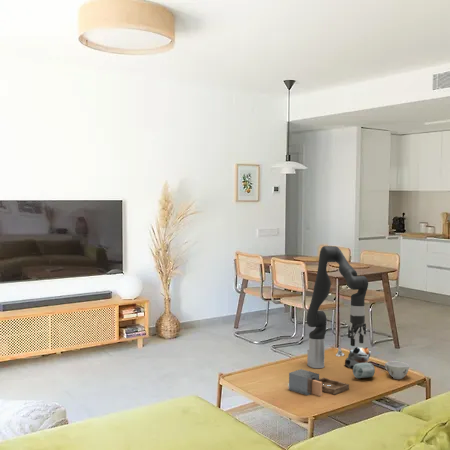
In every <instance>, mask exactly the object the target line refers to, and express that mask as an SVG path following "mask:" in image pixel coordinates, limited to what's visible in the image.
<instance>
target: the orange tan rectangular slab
mask: <svg viewBox="0 0 450 450" xmlns="http://www.w3.org/2000/svg"><path fill="white" fill-rule="evenodd" d="M311 395H315V396H318V397H322V396H323V391H322V382H320V381H317V380H313V379H312V394H311Z"/></svg>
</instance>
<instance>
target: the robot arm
mask: <svg viewBox="0 0 450 450" xmlns="http://www.w3.org/2000/svg"><path fill="white" fill-rule="evenodd" d="M328 263H337V264H338V271H339V273H340V275H341V276H342V277H343V278H344V279H345V281H346V284H347V287H348V288H349V289H350V290H352V291H353V290H354V291H357V292H356V293H353V294H351V296H350V308H349V309H350V310H349V312H350V313H349V323H350V324H351V325H349V326H348V329H347V338H348V339H350V346H351V347H355V346H356V337H357V336H358V342H359V344H364V339H365V338H364V336H366V335H367V324H366V323H365V322H366V317H365V316H366V309H365V307H366V306H365V301H366V300H365V298H366V294H367V292H368V291H367V290H368V288H369V280H368V278H367V277H366V276H365V275H359V276H358V272H357V271H356V270H355V269H354V268H353V267H352V266H351V264H350V262H349V261H347V258H346V257H345V255H344V254H343V252H342V250H341V249H340V248H339V247H338V246H335V245H324V246H322V247H321V248H320V250H319V257H318V267H317V273H316V278H315V280H314V281H315V282H314V286H313V291H312V297H311V300H310V304H309V307H308V310H307V315H306V319H305V320H306V324H307V326H308V327H310V328H314V329H313V330H312V331H310V332H309V333H308V349H307V364H306V365H307V366H308V367H309V368H312V369H323V368H324V367H325V345H326V344H325V343H326V342H325V341H326V340H325V337H326V333H327V332H326V331H327V314H326V313H325V312H324V310H319V309H320V307H321V306H322V304H323V303H324V301H325V300H326V299H327V298H328V296H329V294H330V291H331V288H332V287H331V285H332V281H331V279H330V276H329V274H328V272H327V267H328Z"/></svg>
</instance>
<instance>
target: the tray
mask: <svg viewBox="0 0 450 450" xmlns="http://www.w3.org/2000/svg"><path fill="white" fill-rule="evenodd" d="M319 381H320V382H322V393H327V394H329V395H332V396H335V395H336V396H337V395H338V394H341V393H344V392H347V391H349V390H350V384H348V383H345V382H342V381H337V380H334V379H330V378H327V377H321V378H319ZM323 384H324V385H323ZM327 385H331V386H327Z"/></svg>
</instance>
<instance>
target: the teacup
mask: <svg viewBox="0 0 450 450" xmlns="http://www.w3.org/2000/svg"><path fill="white" fill-rule="evenodd" d="M384 368H385V370H386V371H387V372H388V374H389V376H391V378H392V377H393V379H395V380H402V379H403V378H404V377H406V376H407V374H408V372H409V370H410V364H409V363H407V362H403V361H394V360H393V361H387V362H385V363H384Z"/></svg>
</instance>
